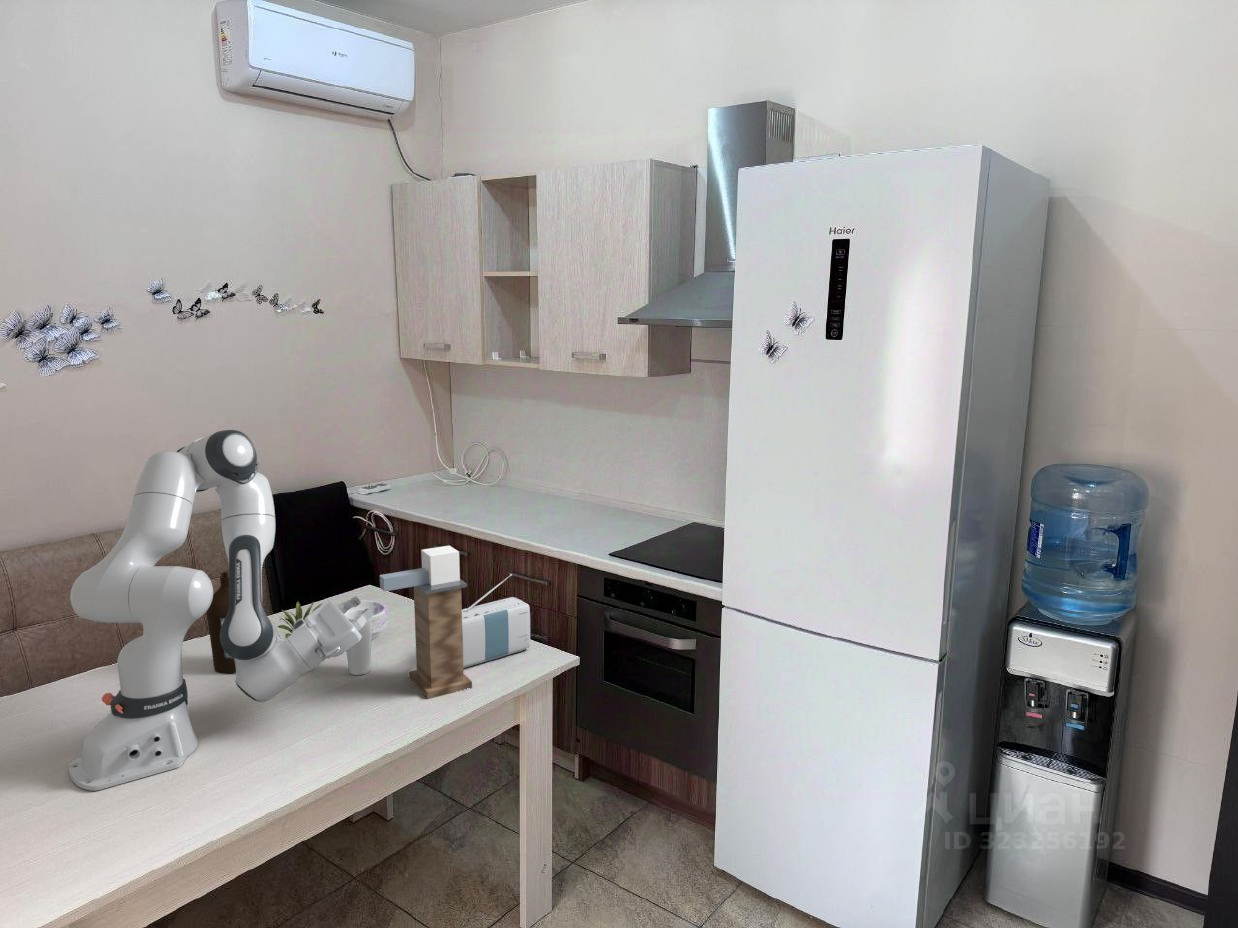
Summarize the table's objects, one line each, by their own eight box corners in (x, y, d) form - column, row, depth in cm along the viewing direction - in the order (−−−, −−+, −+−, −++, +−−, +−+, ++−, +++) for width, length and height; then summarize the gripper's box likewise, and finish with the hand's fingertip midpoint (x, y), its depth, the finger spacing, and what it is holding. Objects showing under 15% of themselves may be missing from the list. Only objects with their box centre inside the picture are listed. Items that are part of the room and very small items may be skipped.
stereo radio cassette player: (461, 672, 210) (459, 596, 206) (445, 661, 216) (443, 587, 212) (532, 651, 223) (531, 579, 219) (515, 641, 229) (514, 571, 225)
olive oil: (205, 665, 212) (196, 570, 207) (248, 653, 219) (241, 561, 214) (220, 679, 204) (211, 580, 199) (264, 666, 211) (257, 571, 207)
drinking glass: (356, 679, 205) (353, 621, 202) (339, 672, 209) (336, 614, 206) (379, 670, 210) (377, 613, 207) (362, 663, 214) (360, 607, 211)
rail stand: (427, 698, 196) (424, 592, 191) (408, 677, 206) (405, 576, 201) (472, 687, 201) (469, 583, 196) (451, 667, 212) (448, 568, 207)
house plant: (312, 680, 204) (308, 616, 201) (261, 675, 207) (256, 612, 204) (343, 656, 218) (340, 596, 215) (294, 651, 220) (290, 592, 217)
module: (386, 593, 189) (385, 563, 188) (378, 585, 194) (376, 556, 193) (459, 580, 199) (459, 551, 197) (450, 573, 204) (449, 545, 202)
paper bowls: (400, 633, 234) (399, 605, 232) (357, 651, 221) (355, 623, 220) (362, 621, 242) (361, 595, 240) (318, 639, 229) (316, 611, 227)
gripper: (314, 650, 175) (370, 608, 180) (292, 619, 192) (344, 582, 197) (331, 672, 178) (386, 630, 183) (308, 639, 195) (359, 602, 200)
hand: (364, 605), depth 190 cm, fingers open, 8 cm apart
